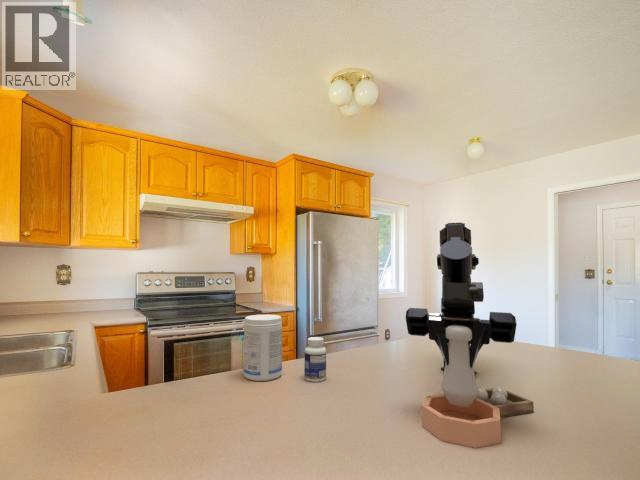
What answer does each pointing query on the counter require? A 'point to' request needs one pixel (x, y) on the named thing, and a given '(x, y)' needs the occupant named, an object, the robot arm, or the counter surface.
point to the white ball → (500, 391)
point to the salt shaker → (459, 368)
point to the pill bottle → (315, 360)
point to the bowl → (462, 421)
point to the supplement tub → (262, 347)
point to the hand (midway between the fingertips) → (459, 365)
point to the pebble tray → (512, 405)
